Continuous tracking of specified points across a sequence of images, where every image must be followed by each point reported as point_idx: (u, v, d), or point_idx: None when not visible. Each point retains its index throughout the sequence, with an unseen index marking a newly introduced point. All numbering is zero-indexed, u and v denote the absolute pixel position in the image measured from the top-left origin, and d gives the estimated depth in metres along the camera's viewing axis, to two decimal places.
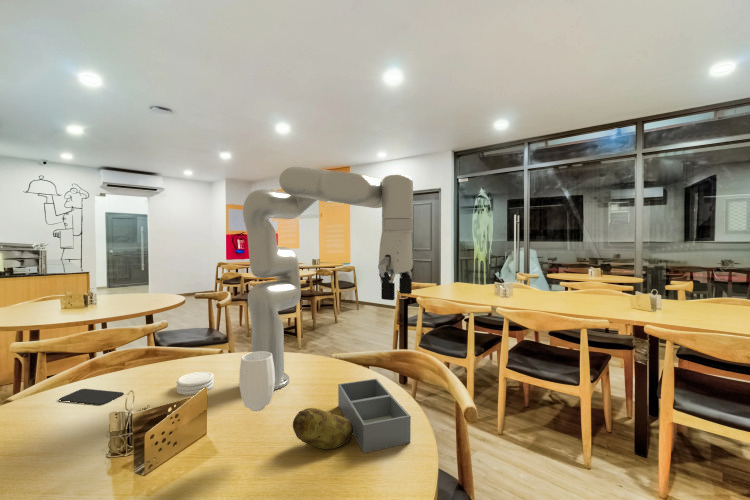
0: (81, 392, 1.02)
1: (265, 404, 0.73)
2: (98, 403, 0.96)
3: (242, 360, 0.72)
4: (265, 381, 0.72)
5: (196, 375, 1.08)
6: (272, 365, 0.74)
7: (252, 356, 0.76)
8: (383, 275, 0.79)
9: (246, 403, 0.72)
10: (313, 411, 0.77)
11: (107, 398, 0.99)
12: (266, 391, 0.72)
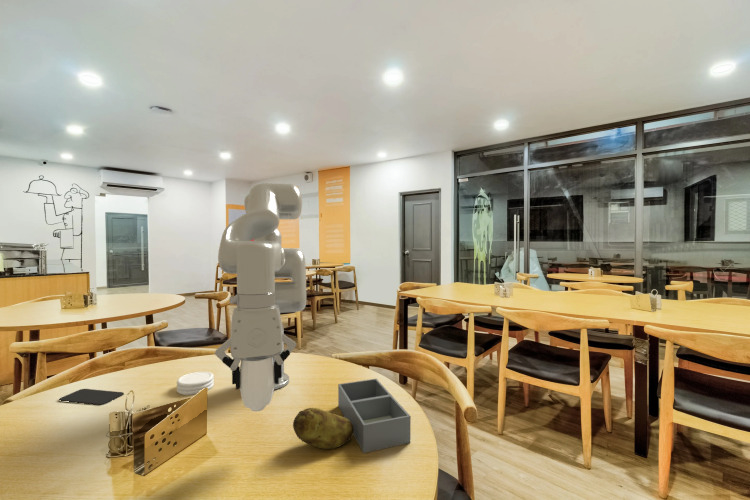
0: (81, 392, 1.02)
1: (265, 404, 0.73)
2: (99, 403, 0.96)
3: (242, 360, 0.72)
4: (265, 381, 0.72)
5: (196, 375, 1.08)
6: (272, 365, 0.74)
7: None
8: None
9: (246, 403, 0.72)
10: (313, 411, 0.77)
11: (107, 398, 0.99)
12: (266, 391, 0.72)
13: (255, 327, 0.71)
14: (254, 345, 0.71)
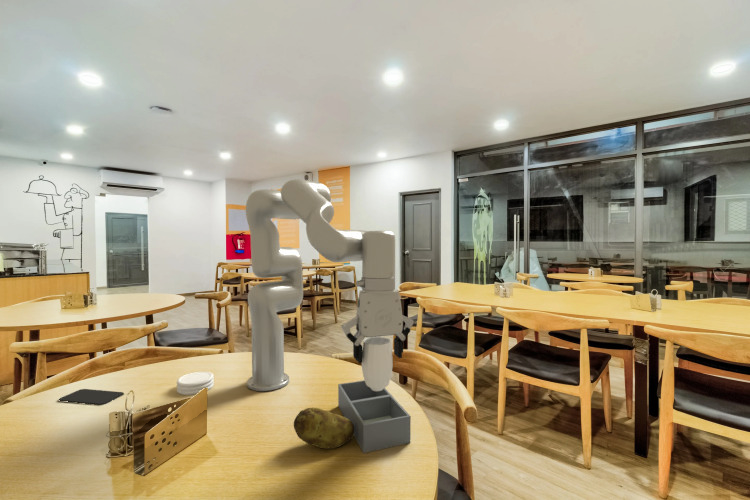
0: (81, 392, 1.02)
1: (386, 384, 0.79)
2: (99, 403, 0.96)
3: (366, 344, 0.79)
4: (388, 363, 0.78)
5: (196, 375, 1.08)
6: (391, 349, 0.81)
7: (369, 342, 0.83)
8: None
9: (370, 383, 0.79)
10: (314, 411, 0.77)
11: (107, 398, 0.99)
12: (388, 372, 0.79)
13: (382, 308, 0.78)
14: (380, 325, 0.78)
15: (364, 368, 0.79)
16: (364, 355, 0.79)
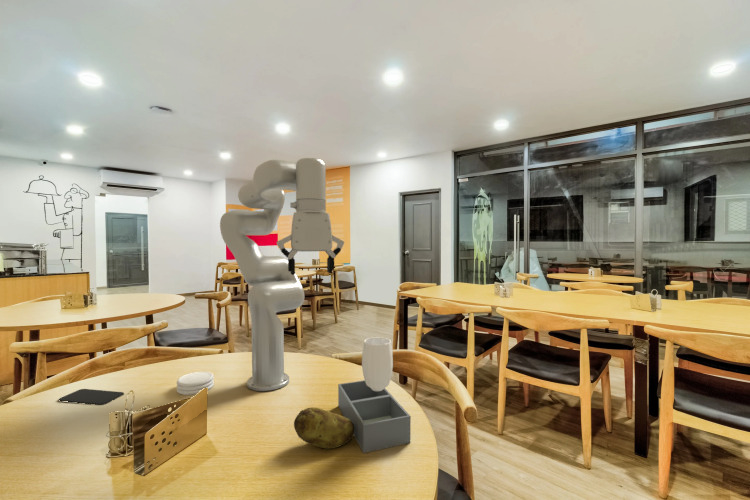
0: (80, 392, 1.02)
1: (387, 384, 0.79)
2: (99, 403, 0.96)
3: (367, 344, 0.79)
4: (388, 363, 0.78)
5: (196, 375, 1.08)
6: (391, 349, 0.81)
7: (369, 342, 0.83)
8: None
9: (371, 383, 0.79)
10: (314, 410, 0.77)
11: (107, 398, 0.99)
12: (388, 372, 0.79)
13: (312, 226, 0.88)
14: (311, 240, 0.88)
15: (364, 368, 0.79)
16: (364, 355, 0.79)
